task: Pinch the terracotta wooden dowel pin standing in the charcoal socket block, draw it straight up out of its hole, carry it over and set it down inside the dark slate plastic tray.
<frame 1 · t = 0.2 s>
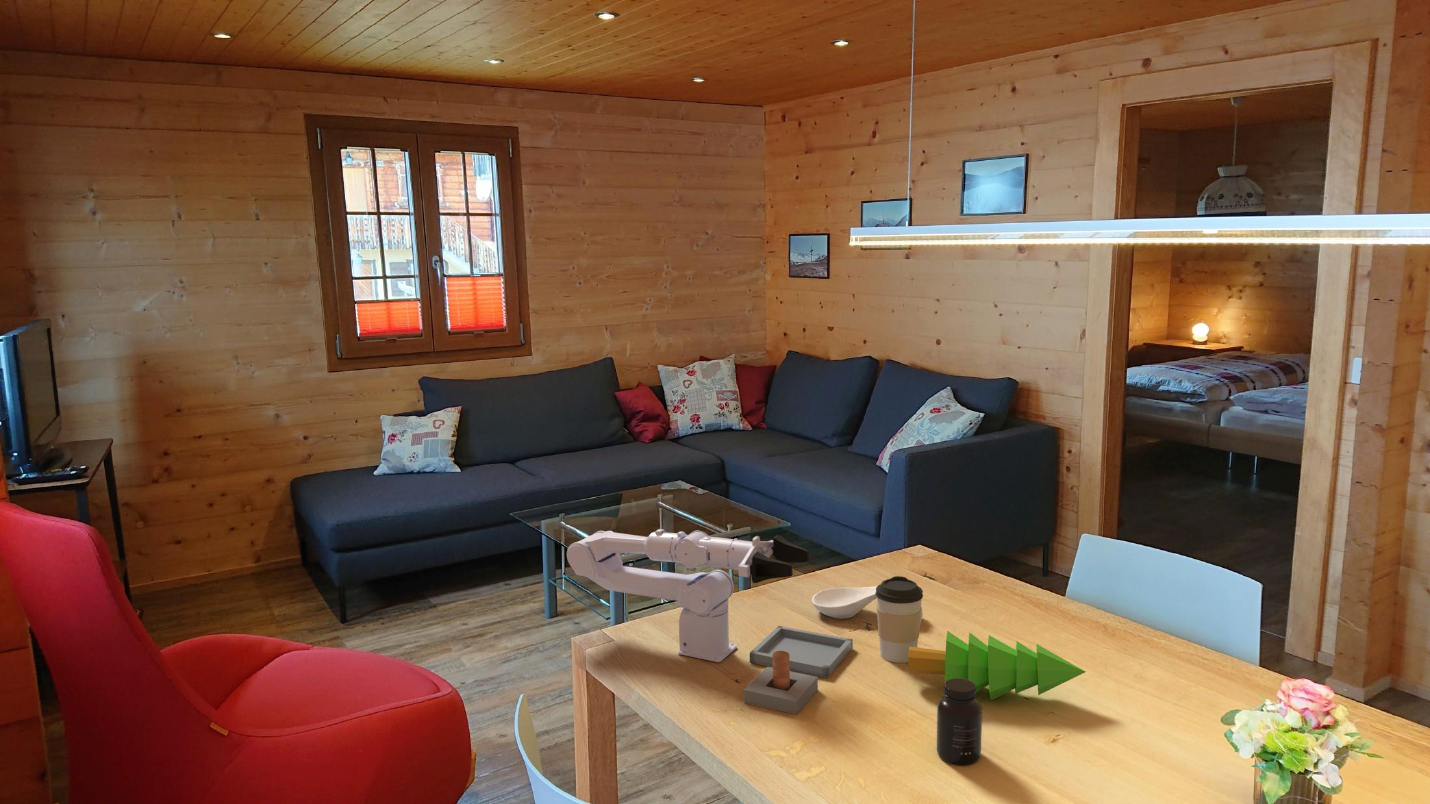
hand: (800, 563, 176), 21 cm above the table, tool horizontal, fingers open, 7 cm apart
supplement bottle: (958, 756, 150), on the table
decorative tree: (993, 697, 169), on the table
spoon rest: (866, 617, 205), on the table
dowel pin: (781, 675, 170), in the socket block
socket block: (781, 696, 170), on the table
coffee cup: (898, 656, 186), on the table
tray: (801, 655, 187), on the table
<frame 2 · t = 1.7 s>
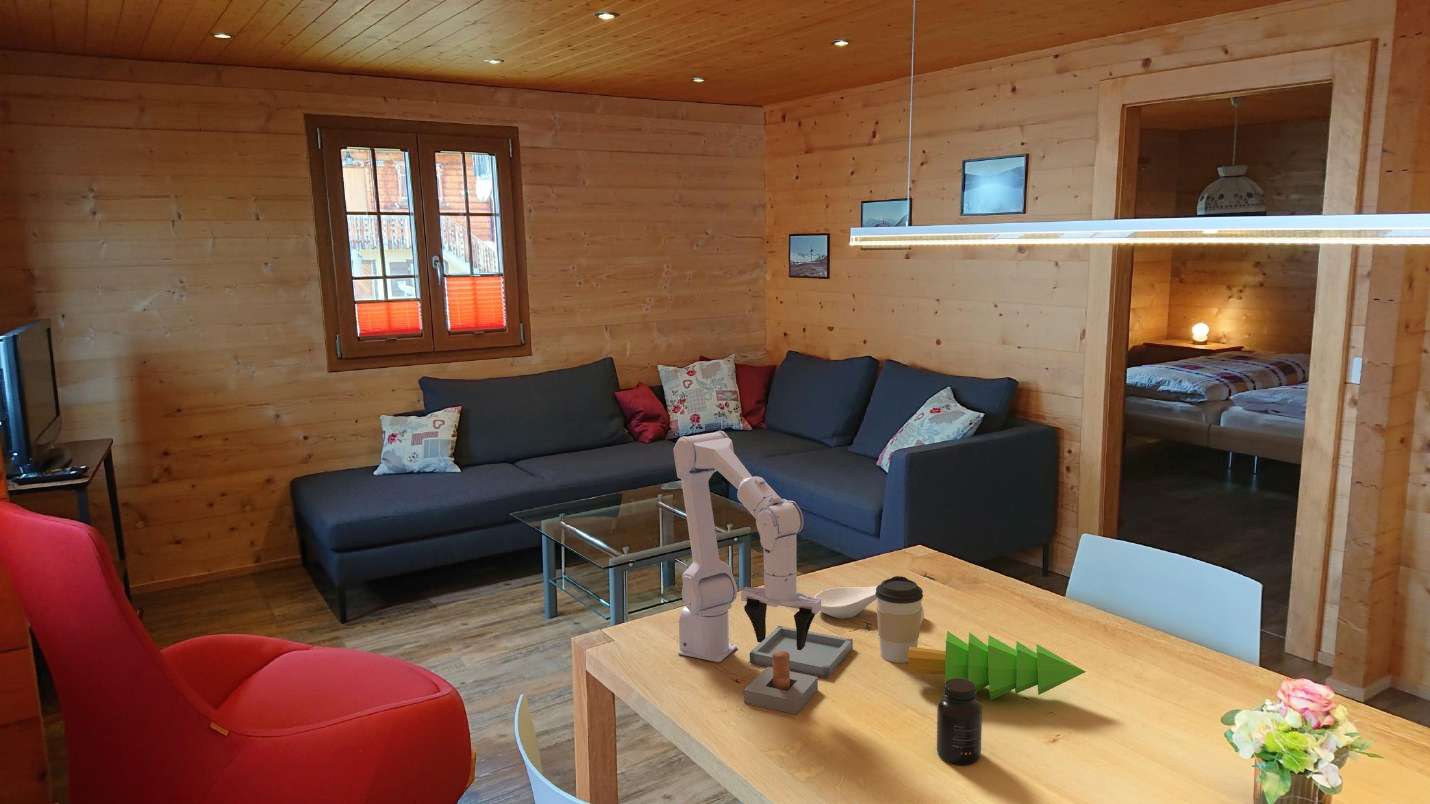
hand: (781, 644, 169), 10 cm above the table, tool pointing down, fingers open, 7 cm apart
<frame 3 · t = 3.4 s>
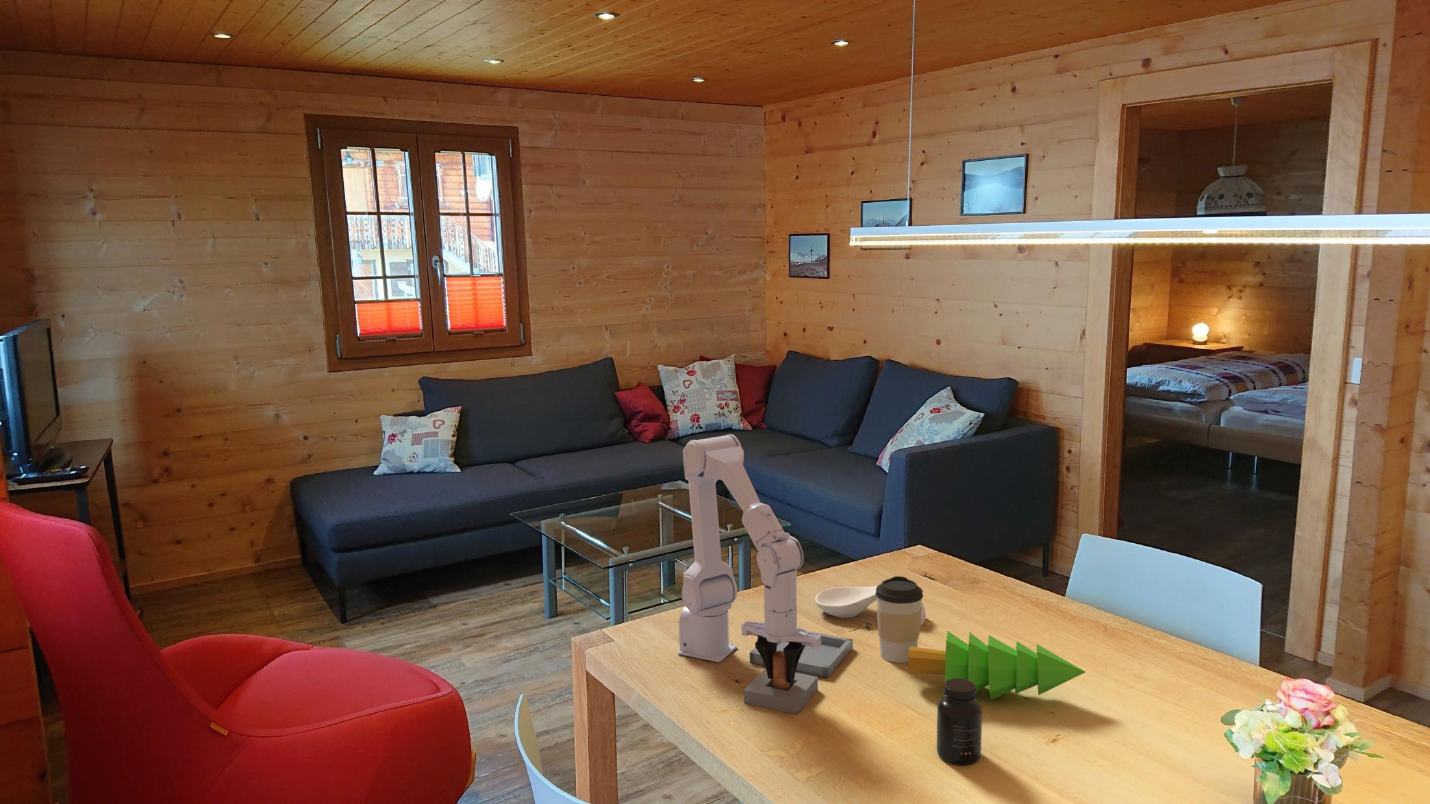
hand: (781, 678, 170), 3 cm above the table, tool pointing down, fingers closed on dowel pin, 3 cm apart
dowel pin: (781, 675, 170), in the socket block, touching gripper
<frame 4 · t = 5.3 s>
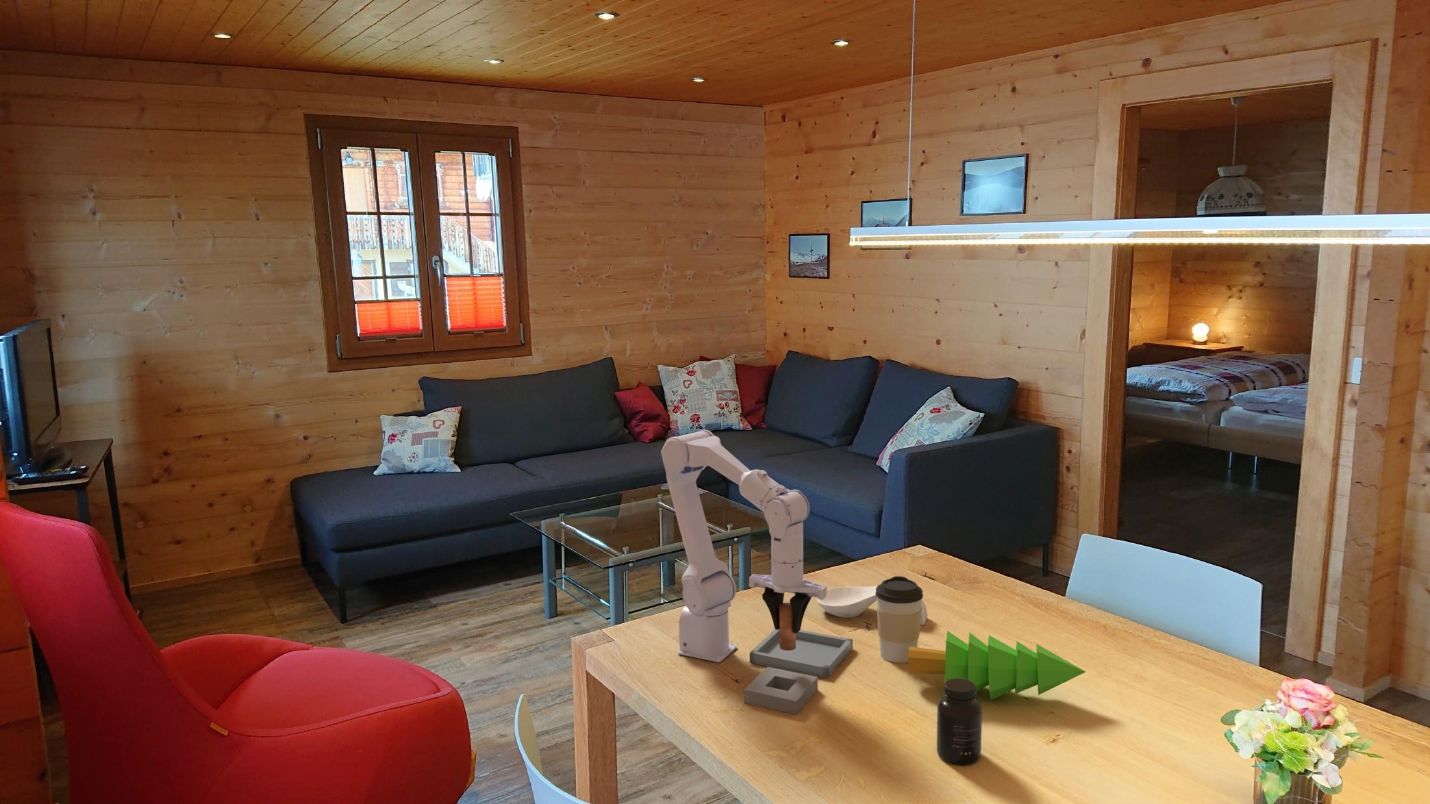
hand: (787, 629, 174), 10 cm above the table, tool pointing down, fingers closed on dowel pin, 3 cm apart
dowel pin: (787, 626, 174), point 11 cm above the table, touching gripper
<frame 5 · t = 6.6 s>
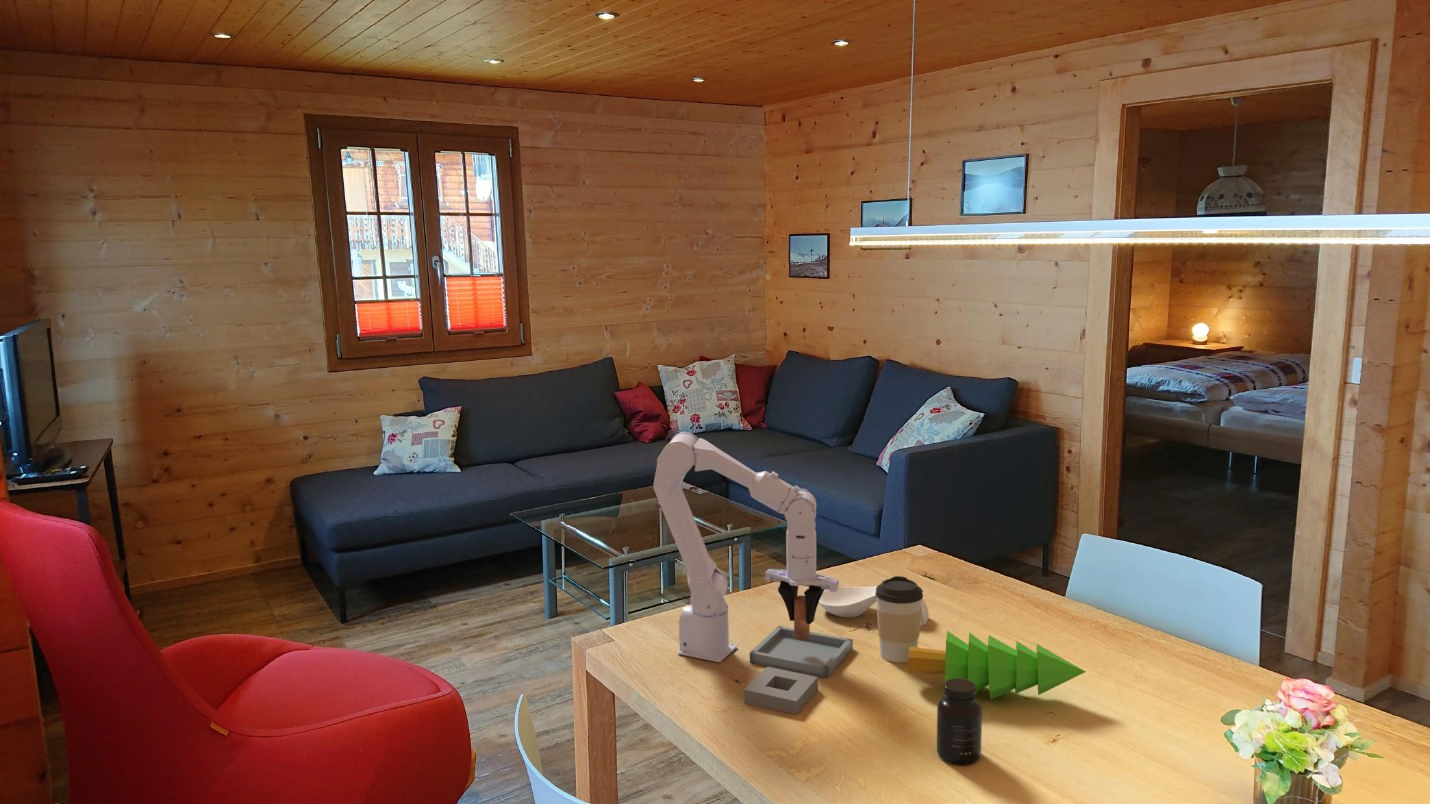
hand: (801, 620, 185), 7 cm above the table, tool pointing down, fingers closed on dowel pin, 3 cm apart
dowel pin: (801, 617, 185), point 8 cm above the table, touching gripper
when the fingers open (5 cm above the table, at t = 7.6 s): dowel pin drops 1 cm, resting on tray.
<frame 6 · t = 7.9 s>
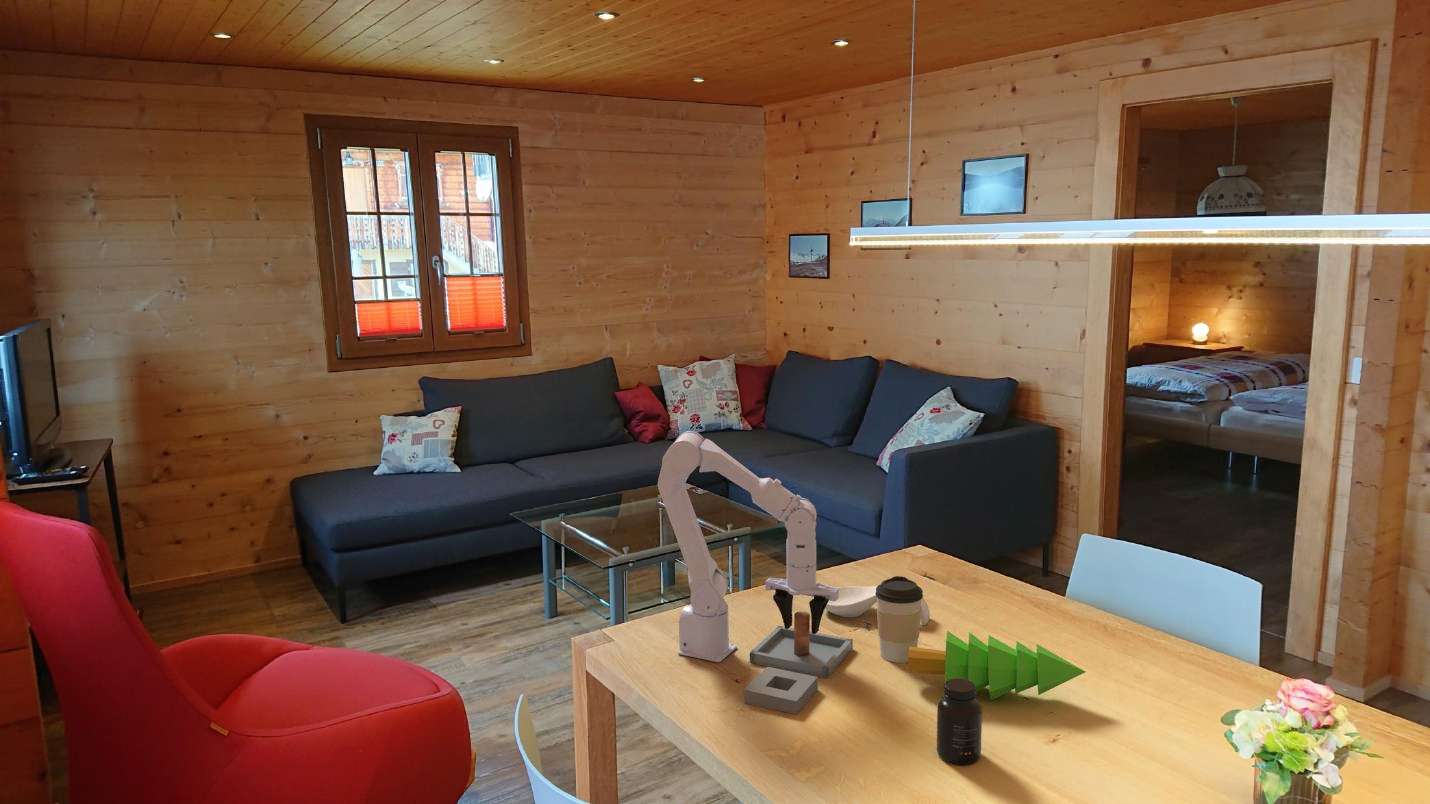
hand: (801, 629, 186), 5 cm above the table, tool pointing down, fingers open, 5 cm apart
dowel pin: (801, 633, 186), in the tray
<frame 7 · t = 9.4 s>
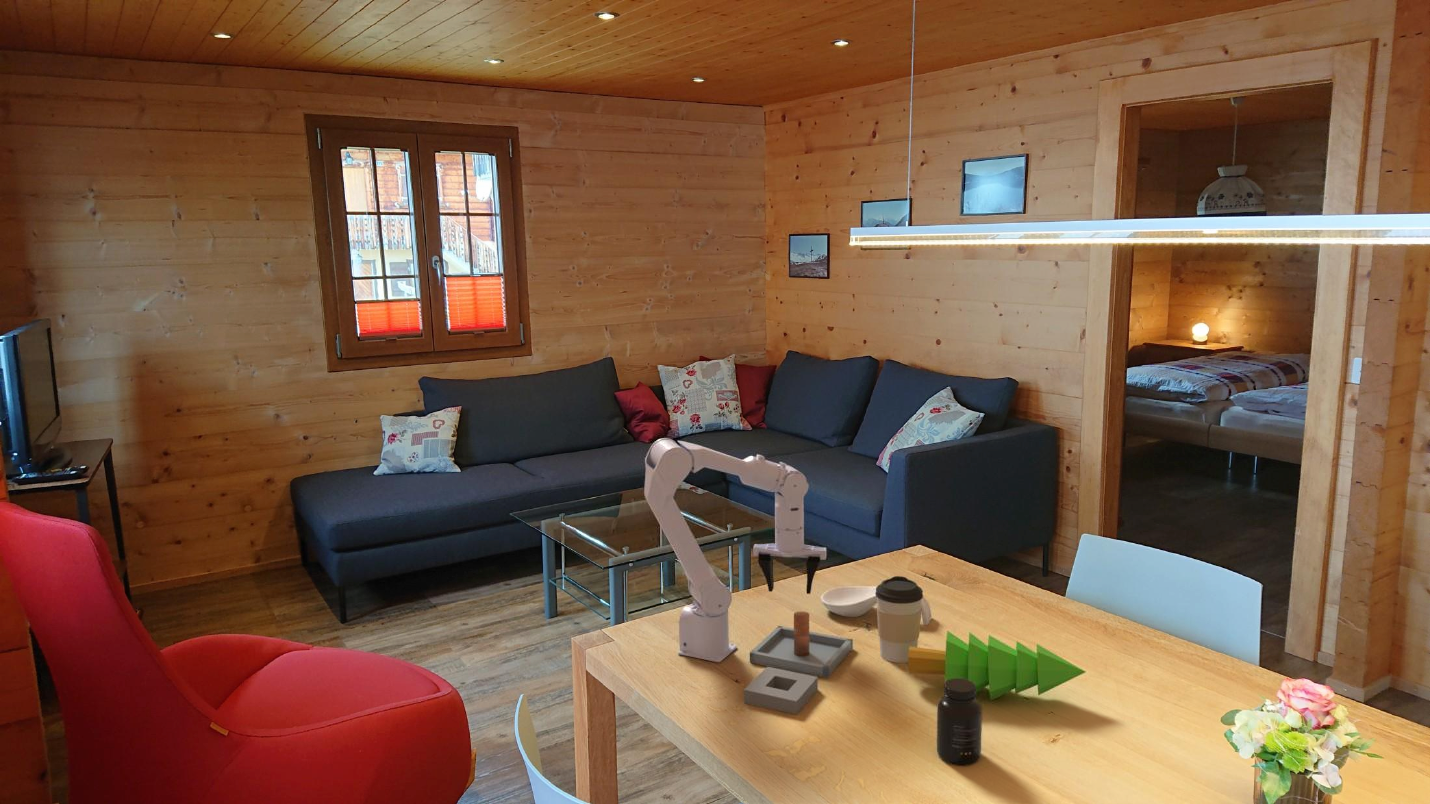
hand: (789, 590, 192), 10 cm above the table, tool pointing down, fingers open, 7 cm apart
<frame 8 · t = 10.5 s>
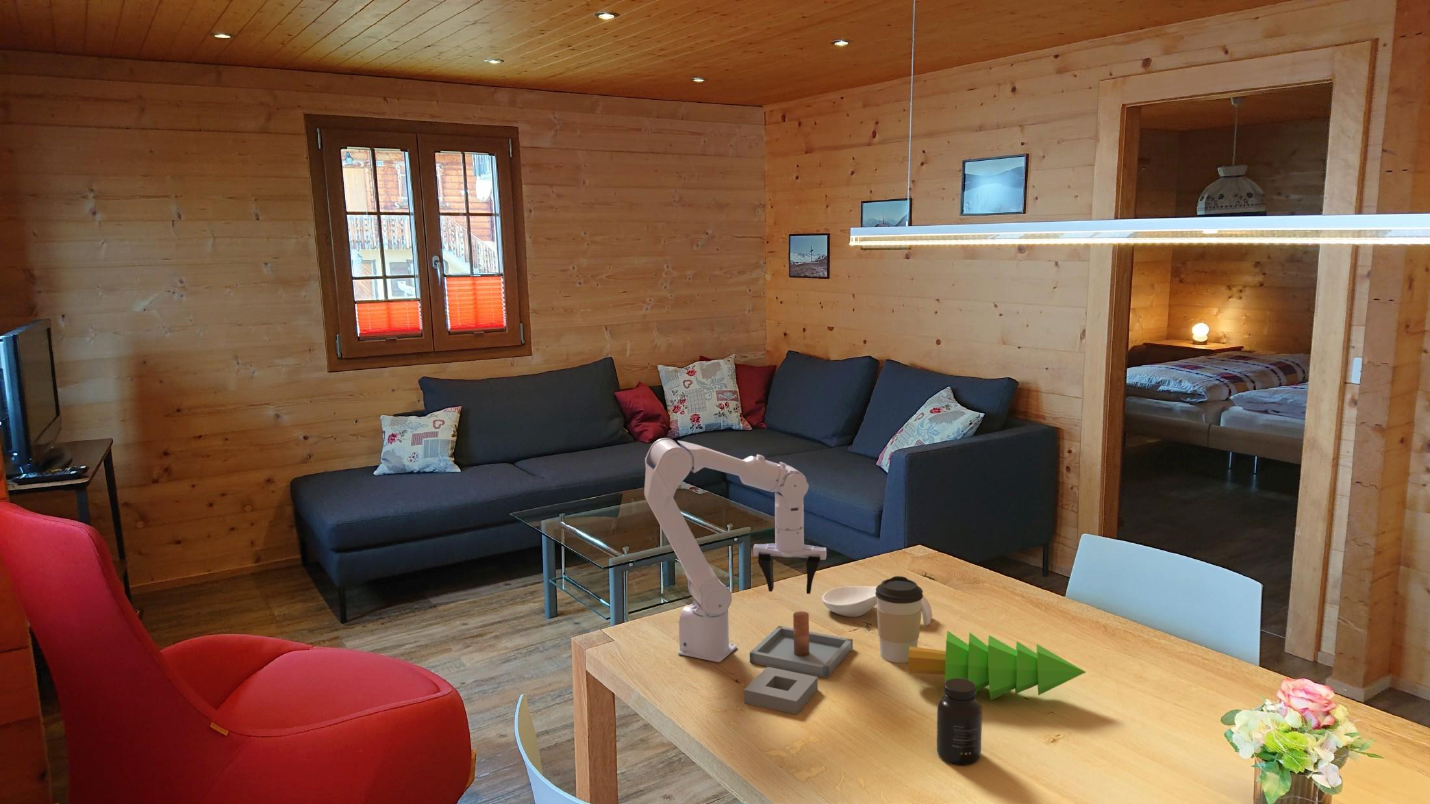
hand: (789, 590, 192), 10 cm above the table, tool pointing down, fingers open, 7 cm apart
at the end: dowel pin inside the target area on the tray (0.1 cm from its centre), point 4.5 cm above the tray's base; the gripper is holding nothing; dowel pin touching tray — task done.
